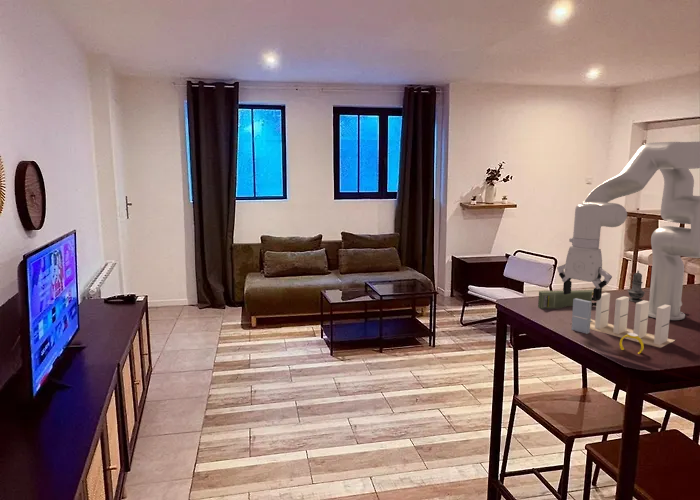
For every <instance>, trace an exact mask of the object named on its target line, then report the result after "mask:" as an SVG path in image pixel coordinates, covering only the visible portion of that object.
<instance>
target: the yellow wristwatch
mask: <svg viewBox="0 0 700 500" xmlns="http://www.w3.org/2000/svg"><path fill="white" fill-rule="evenodd" d="M625 337H630V338H636V339H637V340H638V341H639V342H638V343H639V344H640V349H639V351H638V352H637V354H638V355H640V354H641V353H642V352H643V351H644V348H645V344H644V343H643V341H642V340H641V338H639V337H638V335H637V334H635V333H627V335H625V336H623V337H622V338H621V337H620V340H619V348H620V350H621V351H624V350H625V348H624V345H623V340H624V339H625Z"/></svg>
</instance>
